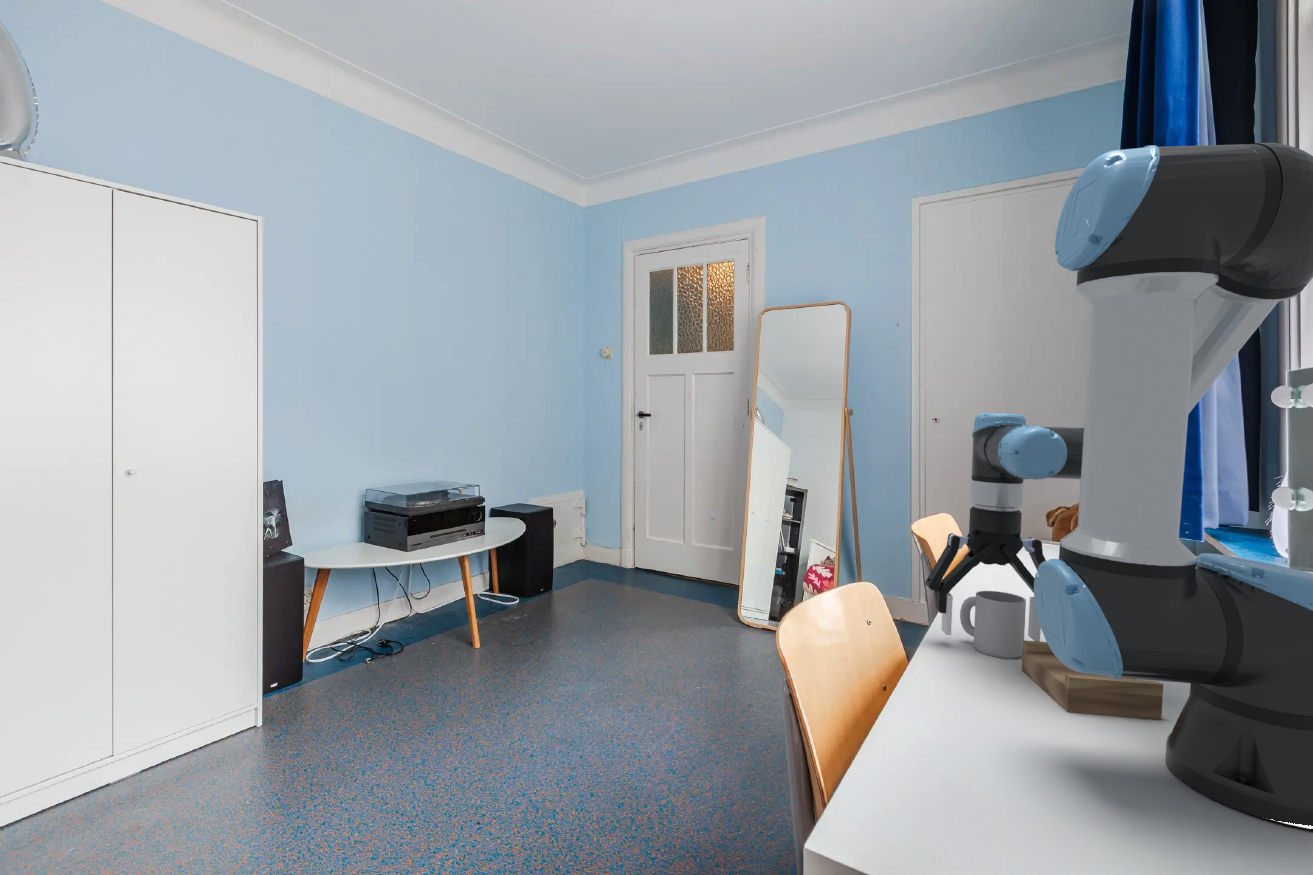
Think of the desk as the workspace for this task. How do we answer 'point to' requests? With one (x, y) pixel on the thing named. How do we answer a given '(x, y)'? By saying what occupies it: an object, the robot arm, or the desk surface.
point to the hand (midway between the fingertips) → (989, 635)
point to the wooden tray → (1090, 687)
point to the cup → (996, 623)
